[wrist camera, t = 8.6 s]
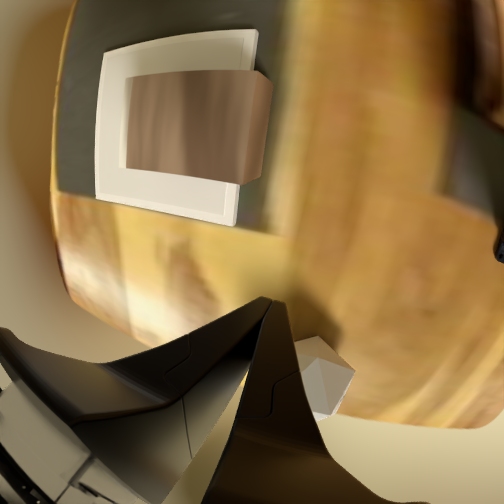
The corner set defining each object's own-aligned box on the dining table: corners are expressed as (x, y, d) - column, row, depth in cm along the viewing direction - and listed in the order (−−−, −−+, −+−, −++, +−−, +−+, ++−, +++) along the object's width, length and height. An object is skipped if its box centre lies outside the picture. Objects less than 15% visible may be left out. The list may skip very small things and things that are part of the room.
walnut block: (257, 70, 13) (125, 77, 15) (242, 185, 16) (118, 167, 18) (273, 83, 16) (157, 83, 18) (260, 176, 19) (150, 160, 22)
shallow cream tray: (258, 32, 15) (255, 28, 15) (235, 223, 22) (231, 226, 22) (109, 54, 19) (103, 53, 18) (101, 196, 26) (95, 198, 25)
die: (305, 387, 29) (349, 439, 20) (235, 389, 26) (266, 455, 17) (328, 326, 28) (387, 369, 19) (254, 319, 25) (300, 376, 16)
